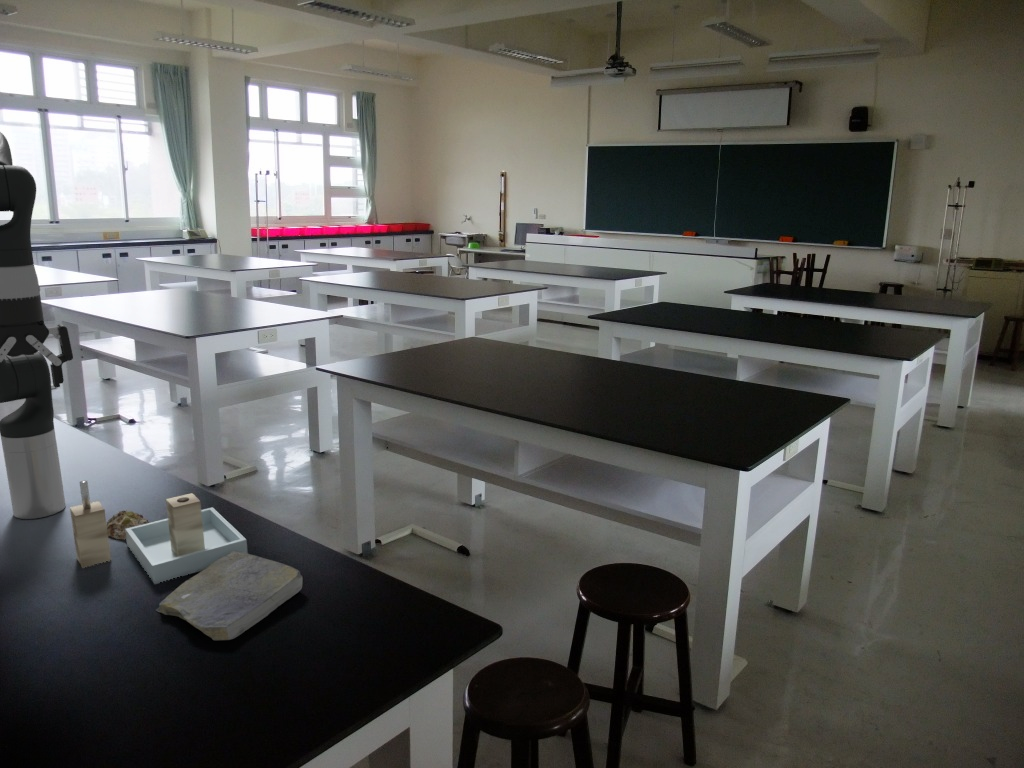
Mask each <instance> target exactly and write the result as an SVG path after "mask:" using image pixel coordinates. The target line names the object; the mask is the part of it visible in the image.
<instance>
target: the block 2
mask: <svg viewBox="0 0 1024 768" xmlns="http://www.w3.org/2000/svg"><path fill="white" fill-rule="evenodd" d="M165 504H166V513H167V518H168V523H169V532H170V541H171V550H172V551H173V552H174V553H175V555H176V556H177V557H178V556H182V555H185V554H189V553H193V552H196V551H200V550H203V549H205V544H204V534H203V524H202V513H201V510H202V504H201V500H200V499H199V498H198V497H197V496H196V495H195V494H194V493H192V492H191V493H188V494H186V493H185V494H183V495H178V496H174V497H169V498H166V499H165Z"/></svg>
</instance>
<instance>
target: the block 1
mask: <svg viewBox="0 0 1024 768" xmlns="http://www.w3.org/2000/svg"><path fill="white" fill-rule="evenodd" d="M79 488H80V496H81V503H82V504H78V505H74V506H70V507H69V511H70V517H71V524H72V525H71V526H72V533H73V537H74V545H75V554H76V559H77V561H78V563H79V564H80V566H81V569H85V567H86V568H88V567H87V566H89V567H92V566H91V565H93V566H95V565H94V564H97V563H101V562H104V563H107V562H106V561H108V562H111V561H112V558H111V556H112V555H111V548H110V541H109V536H108V532H107V517H106V509H105V508H104V506H103V505H102V504H101V502H100V501H99V500H97V501H93V502H91V500H90V498H91V497H90V492H89V491H90V490H89V485H88V480H82V481H79ZM110 560H111V561H110ZM101 564H102V563H101ZM97 565H98V564H97Z"/></svg>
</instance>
